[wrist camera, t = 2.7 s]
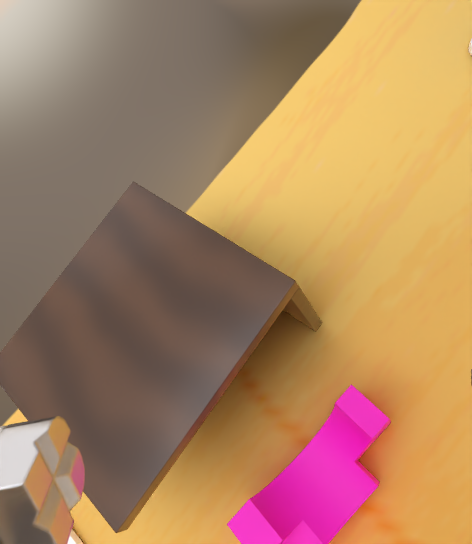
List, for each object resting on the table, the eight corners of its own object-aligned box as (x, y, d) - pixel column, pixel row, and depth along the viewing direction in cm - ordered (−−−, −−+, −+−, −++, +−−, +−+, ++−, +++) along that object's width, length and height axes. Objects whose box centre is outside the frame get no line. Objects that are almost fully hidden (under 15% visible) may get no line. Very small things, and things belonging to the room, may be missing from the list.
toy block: (302, 570, 37) (282, 598, 31) (254, 510, 40) (227, 524, 34) (414, 443, 38) (417, 444, 31) (358, 393, 41) (351, 384, 34)
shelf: (190, 237, 54) (132, 181, 42) (322, 322, 45) (295, 280, 33) (80, 384, 52) (-13, 368, 40) (194, 507, 42) (115, 533, 31)
